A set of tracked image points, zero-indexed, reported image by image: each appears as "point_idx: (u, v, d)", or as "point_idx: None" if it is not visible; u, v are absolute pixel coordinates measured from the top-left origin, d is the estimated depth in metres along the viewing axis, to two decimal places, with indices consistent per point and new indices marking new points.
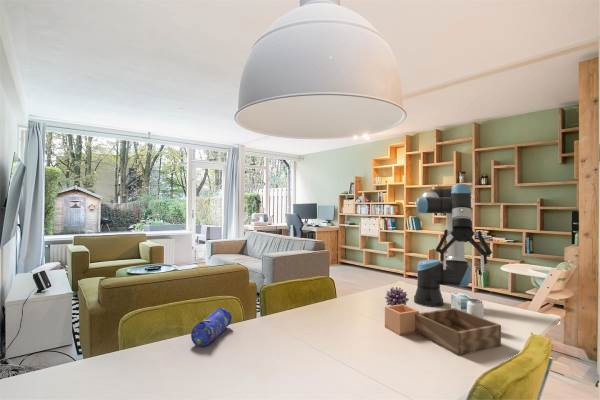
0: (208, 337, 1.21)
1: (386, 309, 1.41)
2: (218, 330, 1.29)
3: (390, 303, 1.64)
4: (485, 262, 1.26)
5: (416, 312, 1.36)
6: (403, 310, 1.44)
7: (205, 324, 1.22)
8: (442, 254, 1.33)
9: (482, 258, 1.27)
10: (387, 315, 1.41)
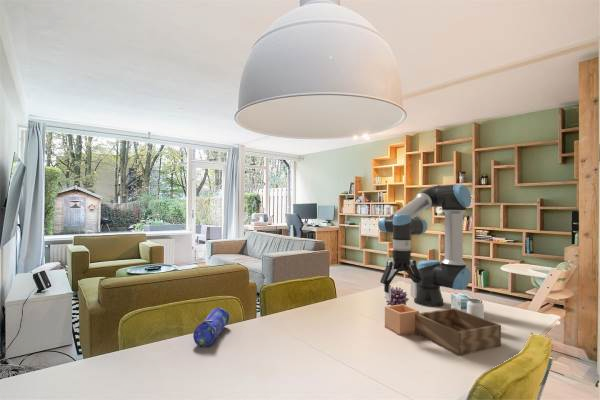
0: (212, 337, 1.21)
1: (386, 309, 1.41)
2: (219, 330, 1.30)
3: (390, 303, 1.64)
4: (416, 288, 1.42)
5: (416, 312, 1.36)
6: (403, 310, 1.44)
7: (208, 324, 1.22)
8: (387, 286, 1.36)
9: (415, 286, 1.41)
10: (387, 315, 1.41)
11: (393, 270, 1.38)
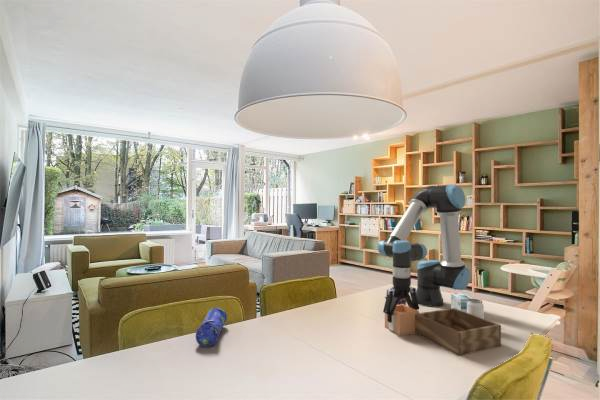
0: (215, 336, 1.21)
1: None
2: (219, 329, 1.30)
3: None
4: None
5: (416, 312, 1.36)
6: (403, 310, 1.44)
7: (211, 324, 1.22)
8: (390, 316, 1.37)
9: None
10: None
11: (394, 298, 1.38)
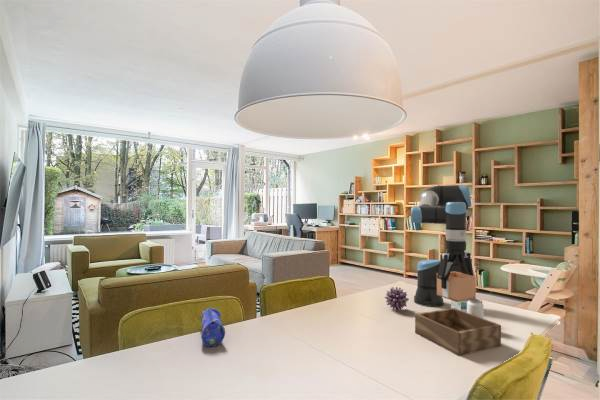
0: (222, 335, 1.23)
1: None
2: None
3: (390, 303, 1.64)
4: None
5: (473, 277, 1.27)
6: (456, 277, 1.35)
7: (217, 323, 1.23)
8: (445, 282, 1.27)
9: None
10: (440, 282, 1.31)
11: (448, 263, 1.29)
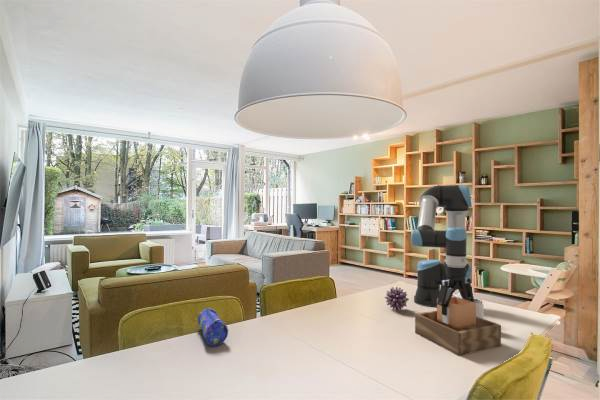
0: (225, 334, 1.24)
1: None
2: None
3: (390, 303, 1.64)
4: None
5: (473, 304, 1.27)
6: (456, 302, 1.35)
7: (220, 322, 1.24)
8: (445, 308, 1.27)
9: None
10: (440, 308, 1.31)
11: (449, 289, 1.29)
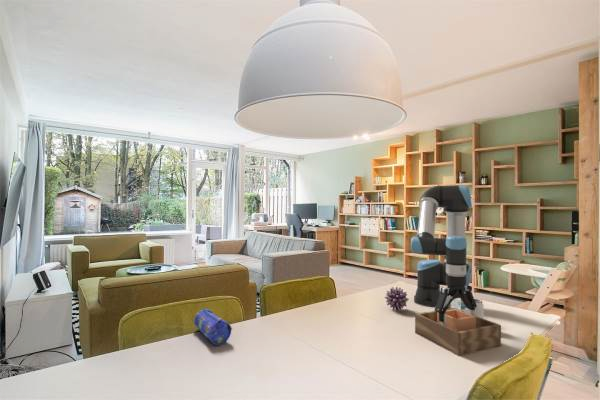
0: (228, 333, 1.25)
1: None
2: None
3: (390, 303, 1.64)
4: None
5: (473, 318, 1.27)
6: (456, 315, 1.35)
7: (223, 322, 1.25)
8: (443, 315, 1.27)
9: (470, 313, 1.31)
10: None
11: (448, 297, 1.29)
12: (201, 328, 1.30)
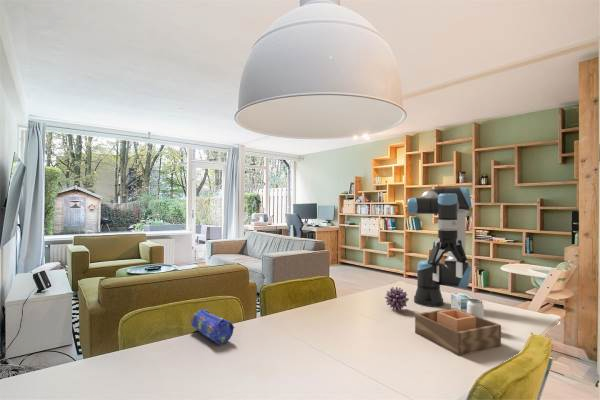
0: (231, 332, 1.26)
1: (439, 315, 1.32)
2: None
3: (390, 303, 1.64)
4: None
5: (473, 318, 1.27)
6: (456, 315, 1.35)
7: (226, 321, 1.25)
8: (435, 267, 1.34)
9: (461, 266, 1.39)
10: (440, 321, 1.31)
11: (440, 250, 1.36)
12: (201, 328, 1.29)
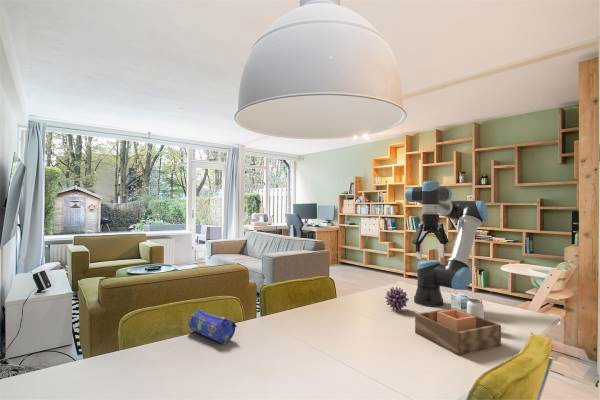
0: (233, 330, 1.27)
1: (439, 315, 1.32)
2: None
3: (390, 303, 1.64)
4: (444, 249, 1.56)
5: (473, 318, 1.27)
6: (456, 315, 1.35)
7: (228, 320, 1.27)
8: (419, 246, 1.50)
9: (443, 246, 1.55)
10: (440, 321, 1.31)
11: (423, 232, 1.52)
12: (201, 329, 1.29)
